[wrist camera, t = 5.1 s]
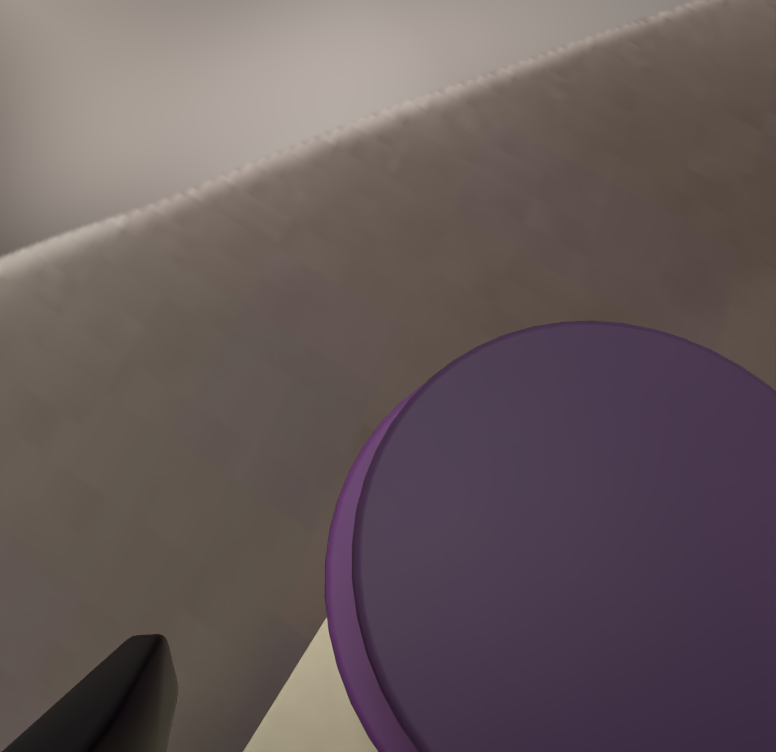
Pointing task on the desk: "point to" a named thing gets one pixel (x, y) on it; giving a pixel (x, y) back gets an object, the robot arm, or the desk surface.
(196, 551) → the desk surface
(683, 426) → the dot marker
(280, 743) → the drawing sheet
